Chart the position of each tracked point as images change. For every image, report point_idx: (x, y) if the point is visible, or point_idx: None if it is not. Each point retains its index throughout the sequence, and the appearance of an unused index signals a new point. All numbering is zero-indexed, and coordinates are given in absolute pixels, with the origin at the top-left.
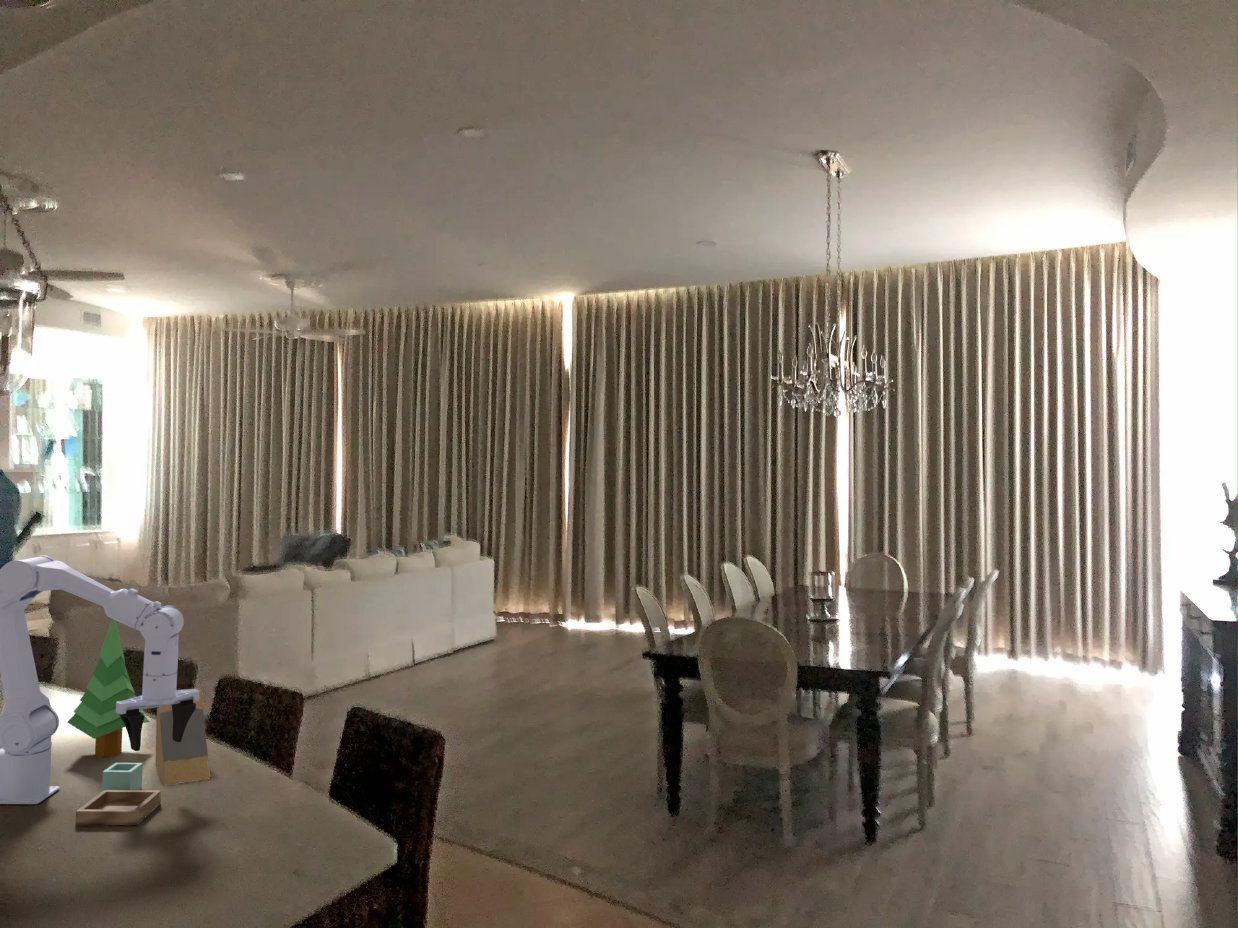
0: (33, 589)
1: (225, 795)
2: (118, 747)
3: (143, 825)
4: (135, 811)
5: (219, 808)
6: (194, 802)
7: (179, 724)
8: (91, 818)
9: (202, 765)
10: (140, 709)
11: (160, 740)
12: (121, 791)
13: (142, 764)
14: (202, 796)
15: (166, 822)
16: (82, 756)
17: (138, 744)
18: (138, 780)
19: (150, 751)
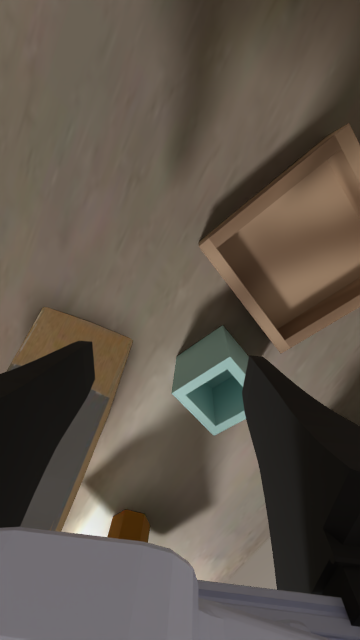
0: None
1: (56, 167)
2: (118, 524)
3: (313, 123)
4: (350, 127)
5: (109, 70)
6: (137, 184)
7: (47, 390)
8: None
9: (38, 344)
10: (317, 598)
11: (81, 469)
12: (264, 315)
13: (172, 390)
14: (103, 210)
15: (265, 89)
16: (164, 532)
17: (267, 364)
18: (189, 360)
19: (77, 493)
